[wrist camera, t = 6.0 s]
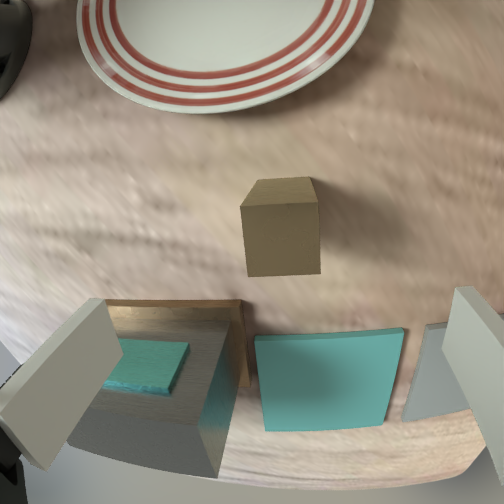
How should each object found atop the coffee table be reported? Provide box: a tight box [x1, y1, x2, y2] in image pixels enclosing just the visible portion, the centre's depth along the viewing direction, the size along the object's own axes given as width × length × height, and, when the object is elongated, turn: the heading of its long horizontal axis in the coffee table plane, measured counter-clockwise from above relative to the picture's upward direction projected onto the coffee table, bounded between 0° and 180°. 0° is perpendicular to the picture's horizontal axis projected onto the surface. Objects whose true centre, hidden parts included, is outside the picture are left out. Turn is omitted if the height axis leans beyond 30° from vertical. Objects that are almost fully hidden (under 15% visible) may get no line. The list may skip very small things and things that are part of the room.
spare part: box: [240, 177, 321, 277], centre depth 24 cm, size 4×4×10 cm
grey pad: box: [401, 314, 504, 422], centre depth 32 cm, size 16×16×1 cm
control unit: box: [66, 299, 252, 479], centre depth 29 cm, size 18×11×15 cm, turn 96°
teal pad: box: [254, 328, 404, 431], centre depth 35 cm, size 16×16×1 cm
